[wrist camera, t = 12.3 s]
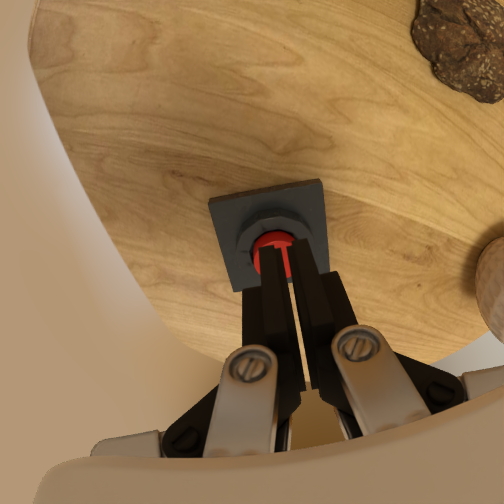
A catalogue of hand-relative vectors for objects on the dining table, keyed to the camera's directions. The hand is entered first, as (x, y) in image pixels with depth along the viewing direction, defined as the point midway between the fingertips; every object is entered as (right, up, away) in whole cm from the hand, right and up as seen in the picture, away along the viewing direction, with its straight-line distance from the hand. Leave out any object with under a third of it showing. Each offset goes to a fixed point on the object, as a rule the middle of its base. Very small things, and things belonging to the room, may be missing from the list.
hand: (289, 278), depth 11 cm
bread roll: (+19, +21, +8) cm, 30 cm away
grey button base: (+1, +2, +19) cm, 19 cm away
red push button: (+1, +1, +17) cm, 17 cm away
